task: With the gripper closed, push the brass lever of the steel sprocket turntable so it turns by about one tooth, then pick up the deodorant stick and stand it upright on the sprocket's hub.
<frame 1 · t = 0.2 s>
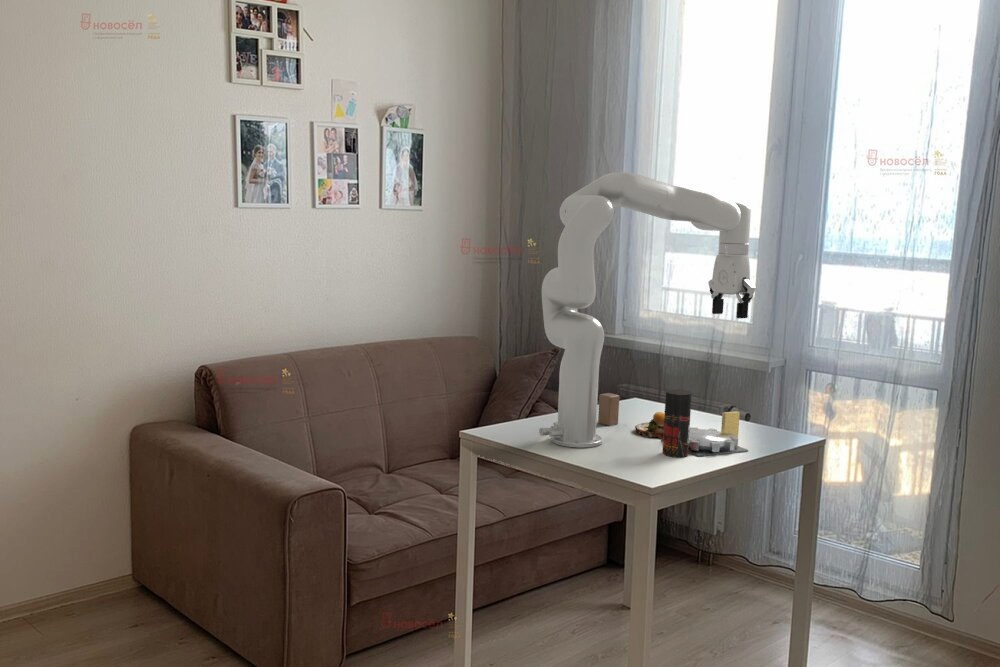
hand: (729, 315, 241), 30 cm above the table, tool pointing down, fingers open, 9 cm apart
deodorant: (674, 455, 218), on the table
wooden block: (608, 424, 247), on the table
sprocket: (708, 428, 226), point 4 cm above the table, hinge at 0.0°
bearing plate: (703, 446, 226), on the table
burger: (657, 435, 238), on the table
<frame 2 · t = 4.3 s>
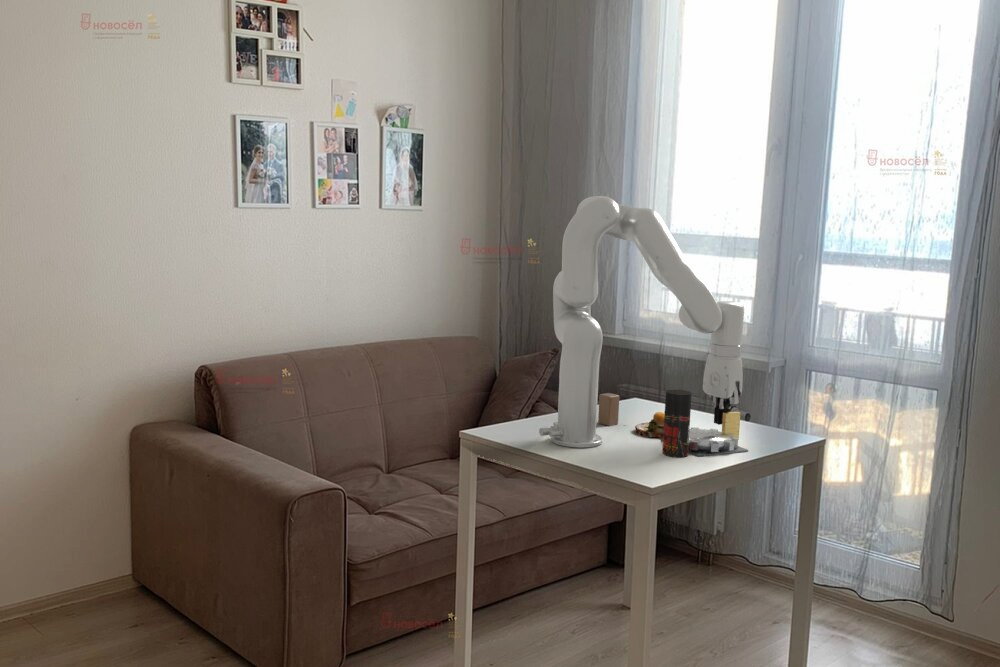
hand: (720, 423, 231), 5 cm above the table, tool pointing down, fingers closed
sprocket: (708, 428, 226), point 4 cm above the table, hinge at 1.9°, touching gripper
everything else where it was.
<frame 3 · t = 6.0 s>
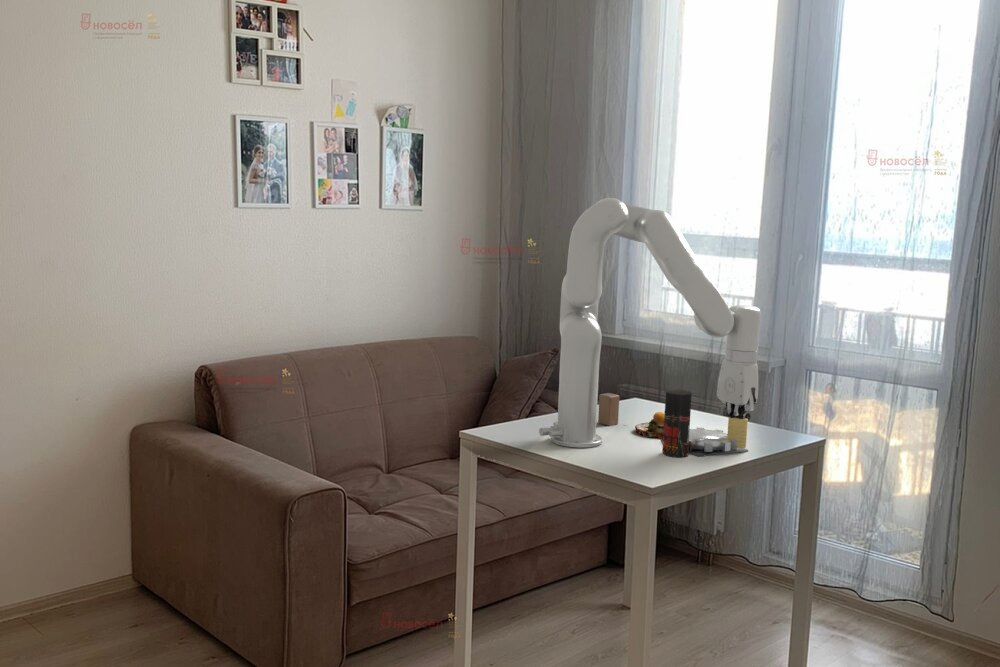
hand: (734, 430, 226), 4 cm above the table, tool pointing down, fingers closed
sprocket: (708, 429, 225), point 4 cm above the table, hinge at 48.5°, touching gripper
everything else where it was.
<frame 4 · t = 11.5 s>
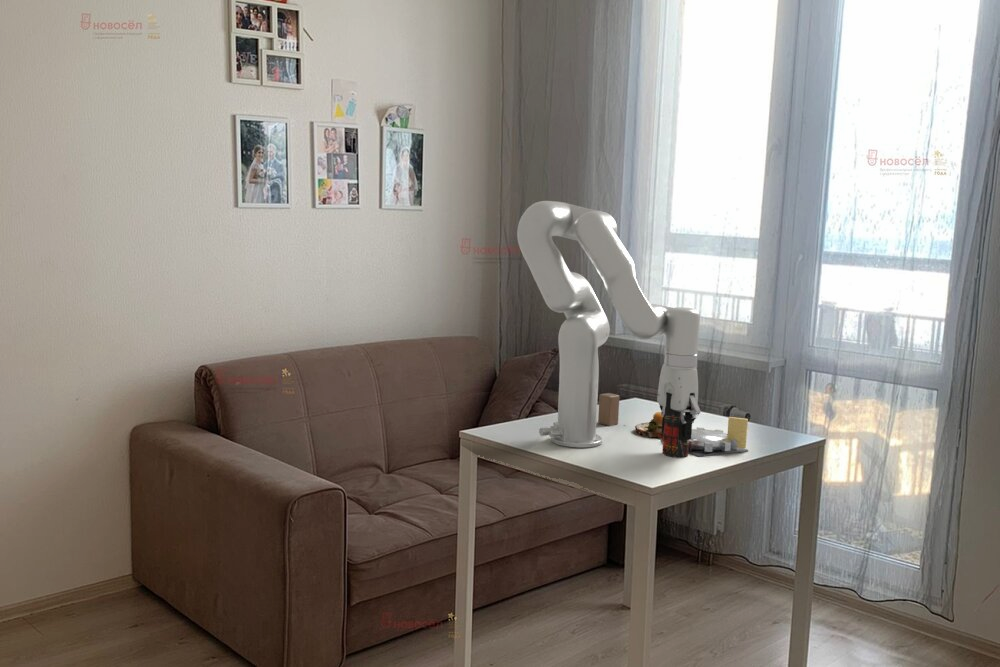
hand: (676, 435, 217), 5 cm above the table, tool pointing down, fingers closed on deodorant, 5 cm apart
deodorant: (675, 455, 218), on the table, touching gripper
sprocket: (708, 429, 225), point 4 cm above the table, hinge at 48.5°
everything else where it was.
when the fingers open (9 cm above the table, at t = 16.7 s): deodorant drops 1 cm, resting on sprocket.
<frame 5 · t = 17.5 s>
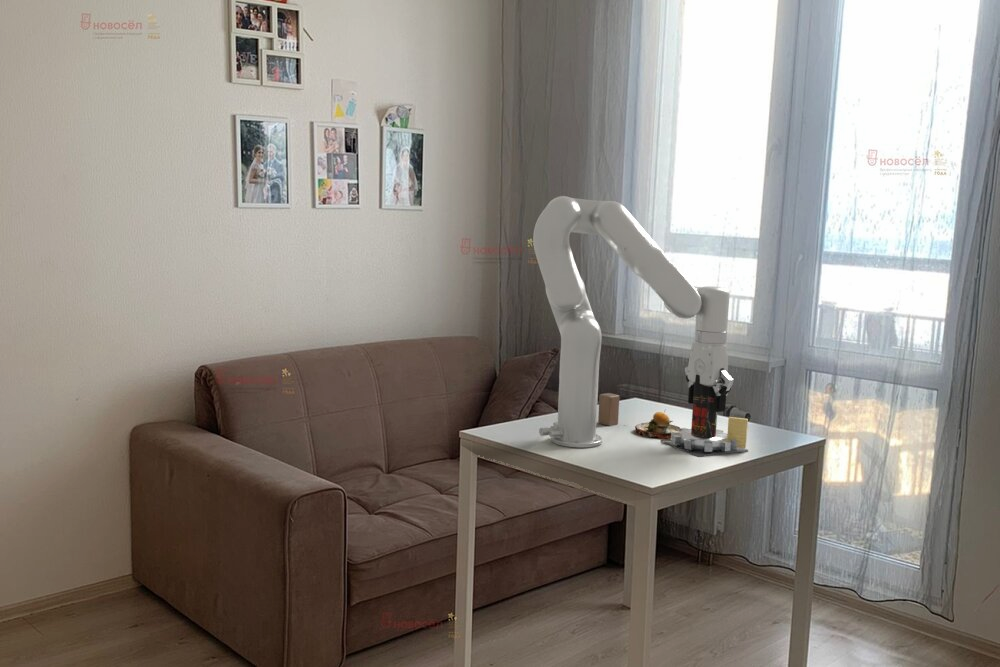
hand: (706, 407, 225), 10 cm above the table, tool pointing down, fingers open, 9 cm apart
deodorant: (703, 435, 226), point 3 cm above the table, touching sprocket
sprocket: (708, 429, 225), point 4 cm above the table, hinge at 48.5°, touching deodorant
everything else where it was.
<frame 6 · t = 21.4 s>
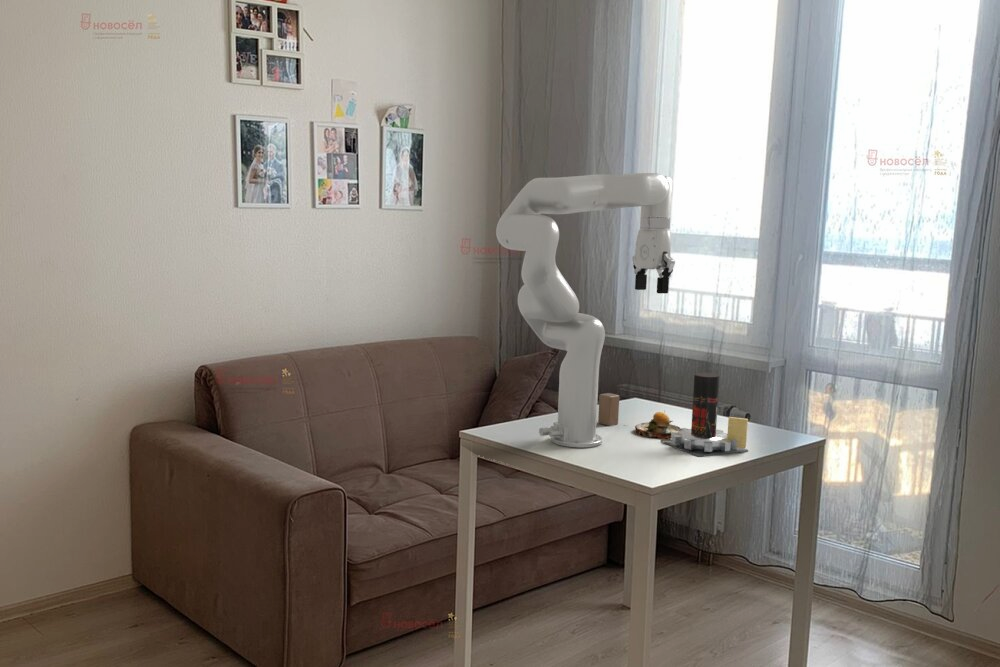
hand: (651, 291, 237), 36 cm above the table, tool pointing down, fingers open, 9 cm apart
nothing on the table moved.
at the end: sprocket at +48° (first picture: +0°); deodorant 0.3 cm from the sprocket (horizontally); deodorant tilted 0° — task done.
